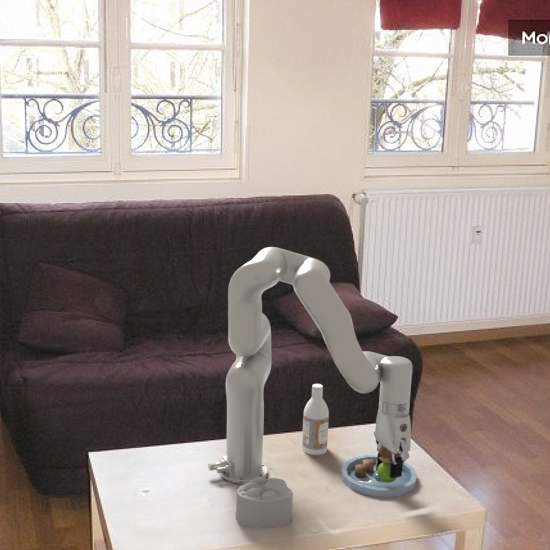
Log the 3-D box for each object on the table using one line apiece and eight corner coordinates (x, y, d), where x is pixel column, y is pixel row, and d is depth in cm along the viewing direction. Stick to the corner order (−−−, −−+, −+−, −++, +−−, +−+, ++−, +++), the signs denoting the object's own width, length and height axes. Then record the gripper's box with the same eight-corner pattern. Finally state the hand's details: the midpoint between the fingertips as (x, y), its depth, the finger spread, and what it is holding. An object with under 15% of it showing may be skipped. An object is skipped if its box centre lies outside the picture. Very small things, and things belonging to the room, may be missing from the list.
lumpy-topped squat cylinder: (295, 523, 209) (296, 490, 207) (243, 532, 205) (244, 498, 203) (280, 502, 219) (281, 470, 217) (230, 509, 215) (230, 477, 212)
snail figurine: (401, 488, 222) (404, 444, 219) (375, 485, 224) (378, 441, 220) (402, 478, 227) (405, 435, 224) (377, 475, 229) (380, 432, 226)
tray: (365, 506, 218) (366, 495, 217) (328, 471, 235) (329, 462, 234) (430, 491, 226) (431, 482, 225) (390, 459, 243) (390, 450, 242)
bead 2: (365, 473, 232) (366, 465, 232) (360, 468, 235) (360, 460, 234) (375, 471, 234) (376, 463, 233) (369, 466, 236) (370, 458, 236)
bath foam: (314, 460, 241) (318, 392, 236) (296, 451, 246) (299, 384, 240) (331, 453, 246) (335, 386, 240) (313, 444, 250) (317, 378, 245)
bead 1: (358, 478, 230) (358, 470, 229) (352, 473, 232) (353, 465, 232) (368, 476, 231) (368, 468, 230) (362, 471, 233) (363, 463, 233)
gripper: (426, 416, 214) (420, 484, 219) (388, 391, 229) (383, 454, 234) (400, 421, 211) (394, 489, 216) (363, 395, 226) (359, 459, 231)
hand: (389, 470), depth 225 cm, fingers closed on snail figurine, 5 cm apart
